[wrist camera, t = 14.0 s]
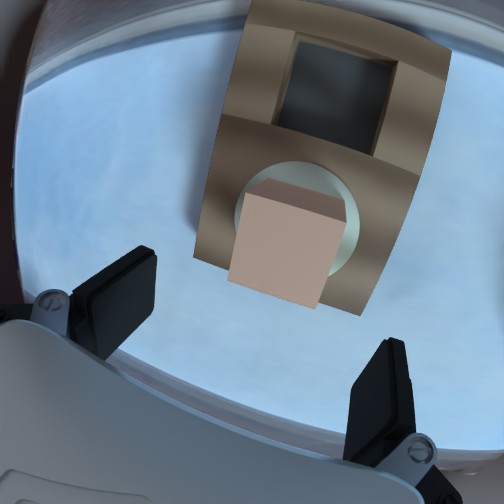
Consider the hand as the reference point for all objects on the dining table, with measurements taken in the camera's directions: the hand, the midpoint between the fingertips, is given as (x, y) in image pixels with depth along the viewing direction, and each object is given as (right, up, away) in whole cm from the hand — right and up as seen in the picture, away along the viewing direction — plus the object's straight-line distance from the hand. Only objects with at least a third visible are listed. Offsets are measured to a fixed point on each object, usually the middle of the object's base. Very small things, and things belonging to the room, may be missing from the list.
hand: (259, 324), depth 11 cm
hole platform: (+5, +11, +13) cm, 18 cm away
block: (+3, +5, +12) cm, 14 cm away
